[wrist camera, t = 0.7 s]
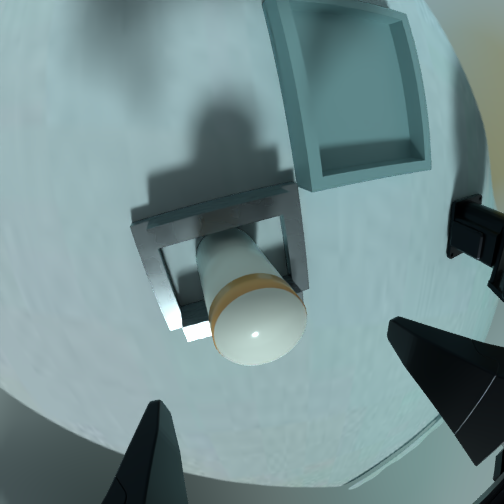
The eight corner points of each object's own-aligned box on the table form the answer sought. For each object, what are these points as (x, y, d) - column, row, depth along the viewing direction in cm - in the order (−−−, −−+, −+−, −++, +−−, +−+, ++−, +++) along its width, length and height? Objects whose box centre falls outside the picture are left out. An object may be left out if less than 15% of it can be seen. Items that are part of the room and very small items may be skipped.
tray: (388, 20, 14) (406, 14, 12) (412, 165, 20) (431, 169, 18) (261, 4, 12) (273, -10, 10) (297, 186, 18) (312, 192, 16)
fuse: (250, 219, 18) (304, 274, 11) (261, 274, 20) (310, 348, 12) (187, 236, 17) (200, 306, 10) (204, 291, 19) (226, 376, 12)
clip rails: (292, 181, 18) (309, 187, 15) (304, 283, 21) (319, 300, 19) (131, 222, 16) (125, 235, 14) (170, 323, 19) (171, 346, 17)
